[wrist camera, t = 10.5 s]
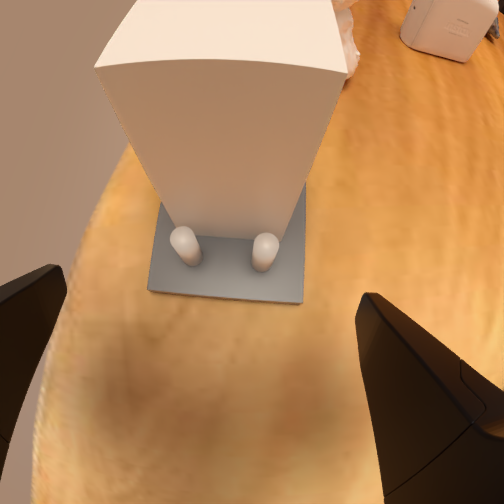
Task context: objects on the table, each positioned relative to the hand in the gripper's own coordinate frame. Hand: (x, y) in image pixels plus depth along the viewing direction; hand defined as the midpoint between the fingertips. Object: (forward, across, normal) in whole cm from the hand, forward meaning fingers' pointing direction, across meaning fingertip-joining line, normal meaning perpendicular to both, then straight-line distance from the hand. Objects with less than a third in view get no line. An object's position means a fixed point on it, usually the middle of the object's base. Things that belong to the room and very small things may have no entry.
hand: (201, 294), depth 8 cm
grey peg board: (+12, 0, +2) cm, 12 cm away
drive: (+11, 0, +2) cm, 11 cm away
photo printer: (+30, -22, -16) cm, 40 cm away
